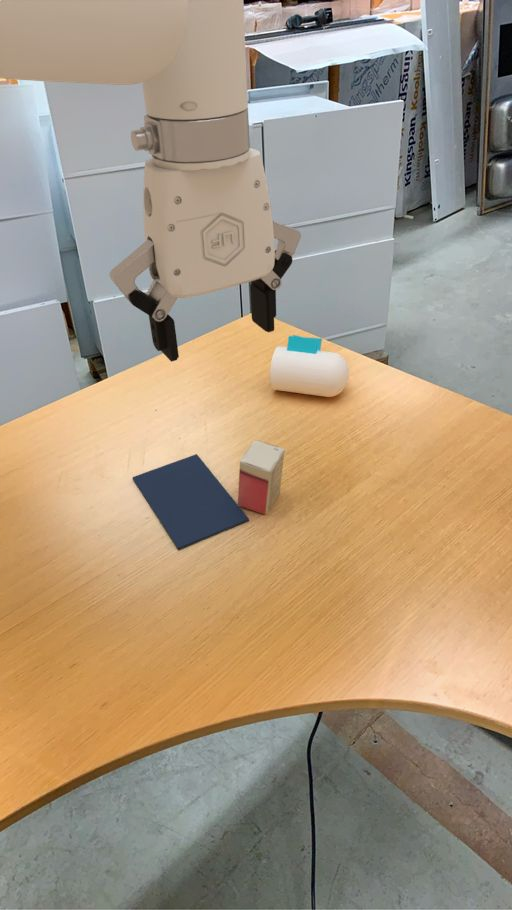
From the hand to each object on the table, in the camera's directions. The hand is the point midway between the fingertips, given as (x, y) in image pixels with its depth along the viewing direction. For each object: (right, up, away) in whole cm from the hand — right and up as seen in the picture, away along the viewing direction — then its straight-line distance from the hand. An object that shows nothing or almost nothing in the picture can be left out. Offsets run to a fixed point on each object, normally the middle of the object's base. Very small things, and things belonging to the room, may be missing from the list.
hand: (217, 340), depth 60 cm
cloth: (-6, -16, +28) cm, 33 cm away
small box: (+4, -17, +28) cm, 33 cm away
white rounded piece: (+13, +1, +50) cm, 52 cm away
